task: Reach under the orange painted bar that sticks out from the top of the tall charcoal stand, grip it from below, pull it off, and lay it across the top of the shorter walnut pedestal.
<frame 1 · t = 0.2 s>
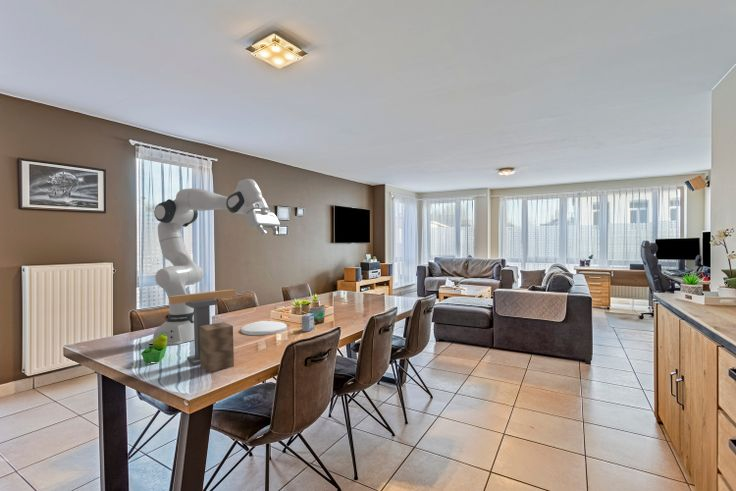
hand: (270, 235, 167), 54 cm above the table, tool tilted 25°, fingers open, 8 cm apart
pedestal: (217, 366, 146), on the table
stand: (202, 360, 154), on the table
medicine box: (308, 330, 202), on the table
bar: (203, 299, 154), point 26 cm above the table, touching stand
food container: (320, 323, 218), on the table
fruit basket: (156, 360, 155), on the table
decorative plate: (264, 330, 205), on the table
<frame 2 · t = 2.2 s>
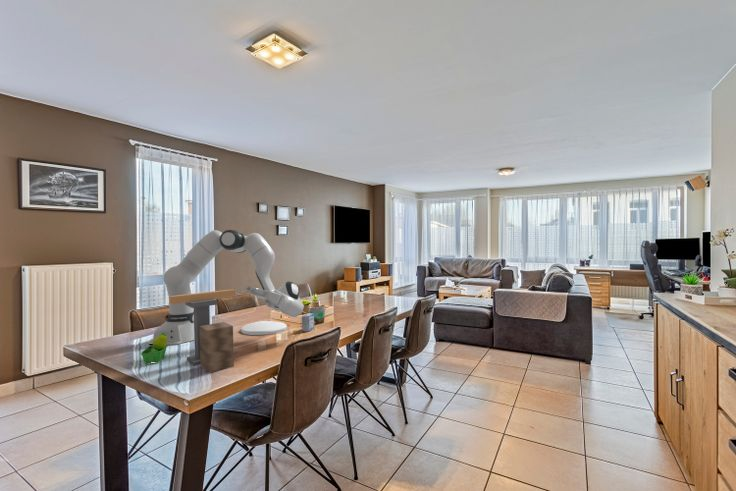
hand: (250, 288, 168), 29 cm above the table, tool pointing upward, fingers open, 8 cm apart
nothing on the table moved.
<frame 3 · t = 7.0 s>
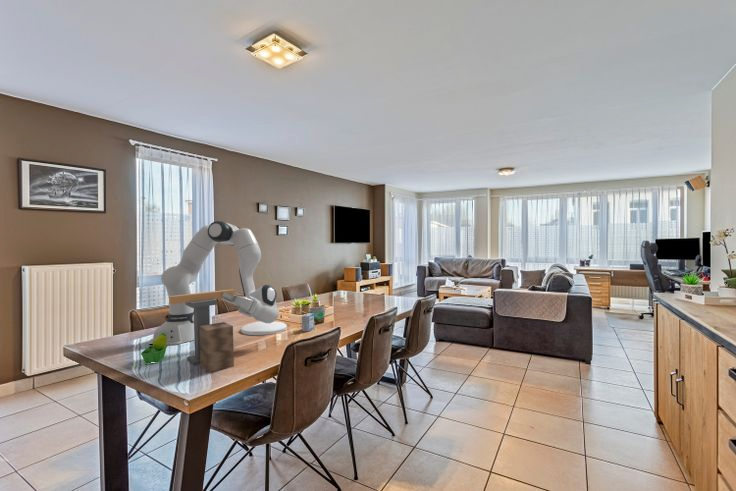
hand: (220, 293, 159), 28 cm above the table, tool pointing upward, fingers closed on bar, 3 cm apart
bar: (203, 299, 154), point 26 cm above the table, touching gripper, stand
everything else where it was.
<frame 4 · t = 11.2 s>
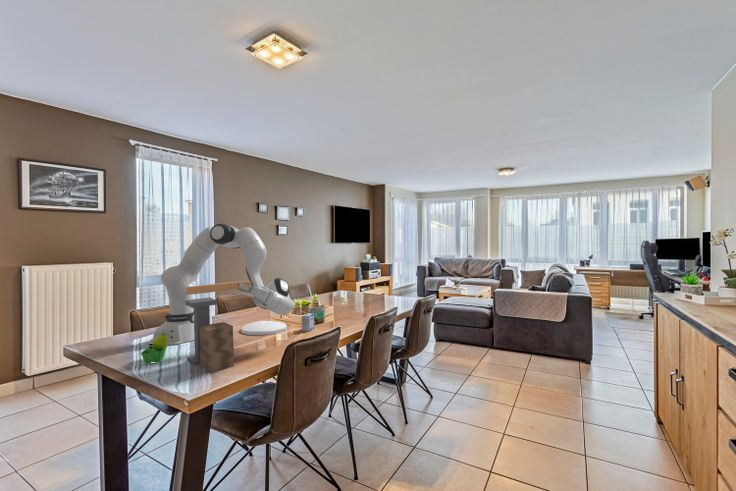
hand: (236, 284, 157), 32 cm above the table, tool pointing upward, fingers closed on bar, 3 cm apart
bar: (220, 290, 152), point 30 cm above the table, touching gripper
everything else where it was.
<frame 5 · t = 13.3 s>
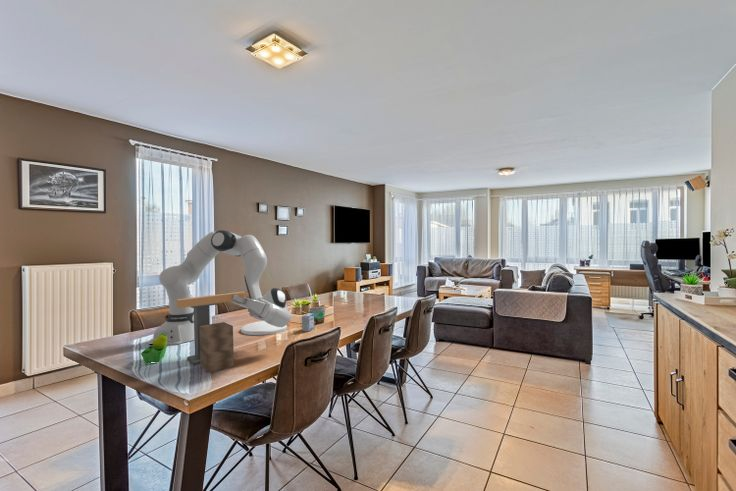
hand: (230, 296, 150), 28 cm above the table, tool pointing upward, fingers closed on bar, 3 cm apart
bar: (213, 303, 145), point 26 cm above the table, touching gripper
everything else where it was.
when the fingers open (19 cm above the table, at t = 15.4 s): bar drops 1 cm, resting on pedestal.
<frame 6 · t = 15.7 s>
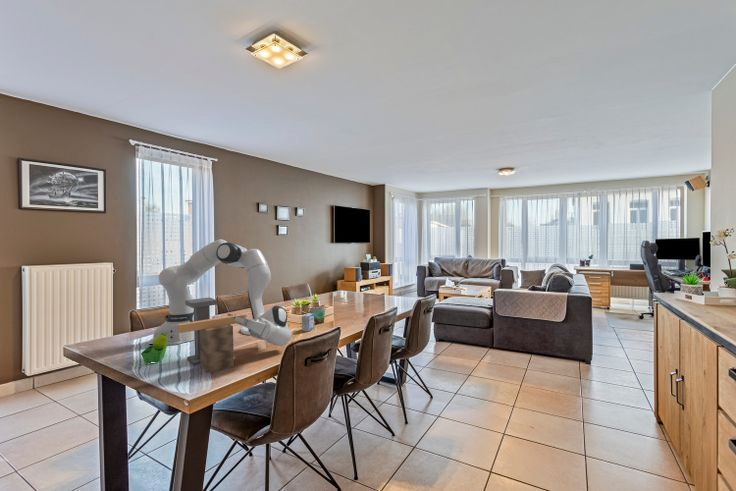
hand: (231, 316, 150), 19 cm above the table, tool pointing upward, fingers open, 6 cm apart
bar: (213, 326, 145), point 16 cm above the table, touching pedestal
everything else where it was.
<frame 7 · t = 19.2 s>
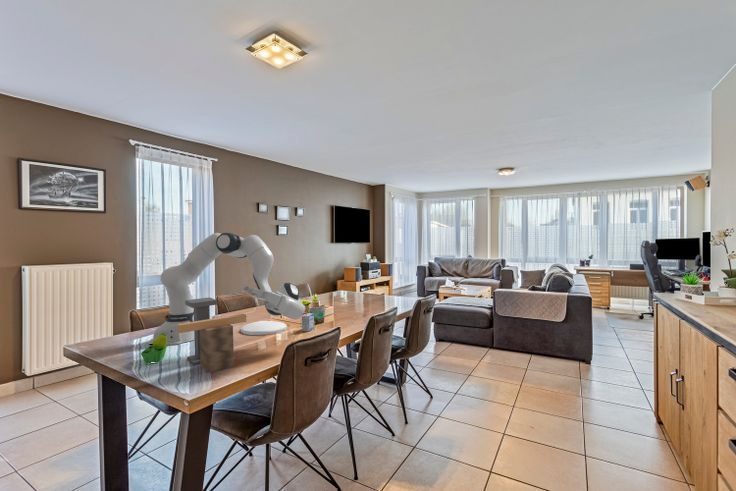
hand: (248, 288, 155), 30 cm above the table, tool pointing upward, fingers open, 8 cm apart
nothing on the table moved.
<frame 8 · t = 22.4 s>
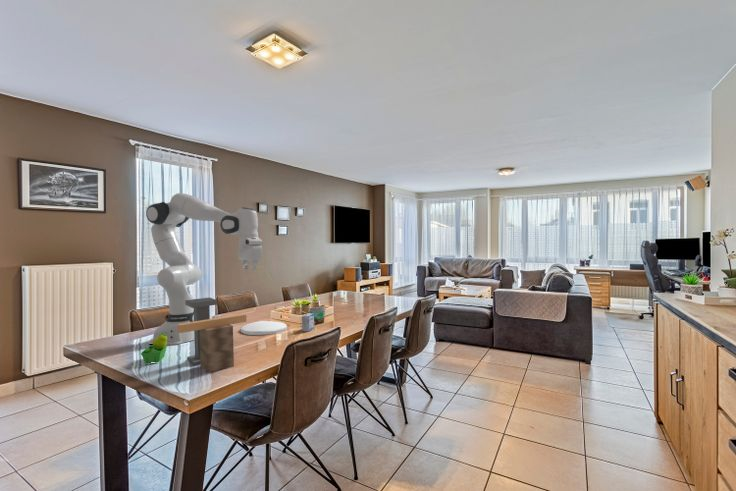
hand: (249, 269, 172), 37 cm above the table, tool pointing down, fingers open, 8 cm apart
nothing on the table moved.
at the end: bar inside the target area on the pedestal (0.9 cm from its centre), point 16.5 cm above the pedestal's base; bar touching pedestal; the gripper is holding nothing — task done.
